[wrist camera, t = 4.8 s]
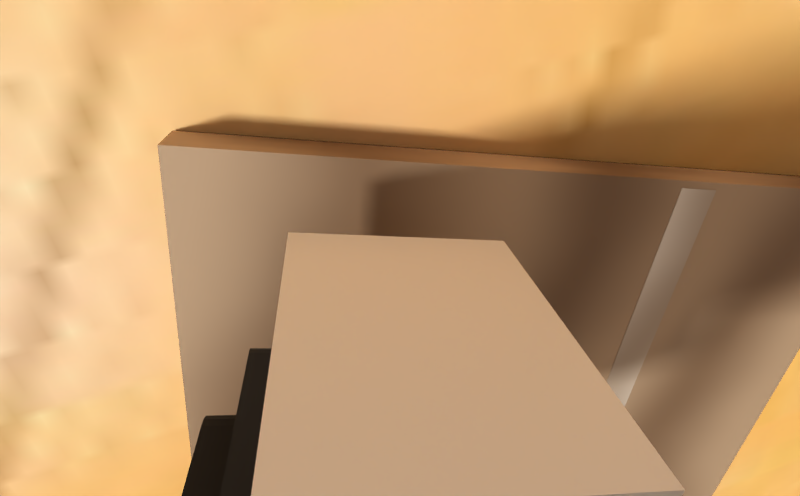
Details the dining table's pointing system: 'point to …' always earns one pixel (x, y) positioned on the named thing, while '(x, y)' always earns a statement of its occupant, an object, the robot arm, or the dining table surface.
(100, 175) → the dining table surface
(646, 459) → the white rectangular block
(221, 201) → the board
